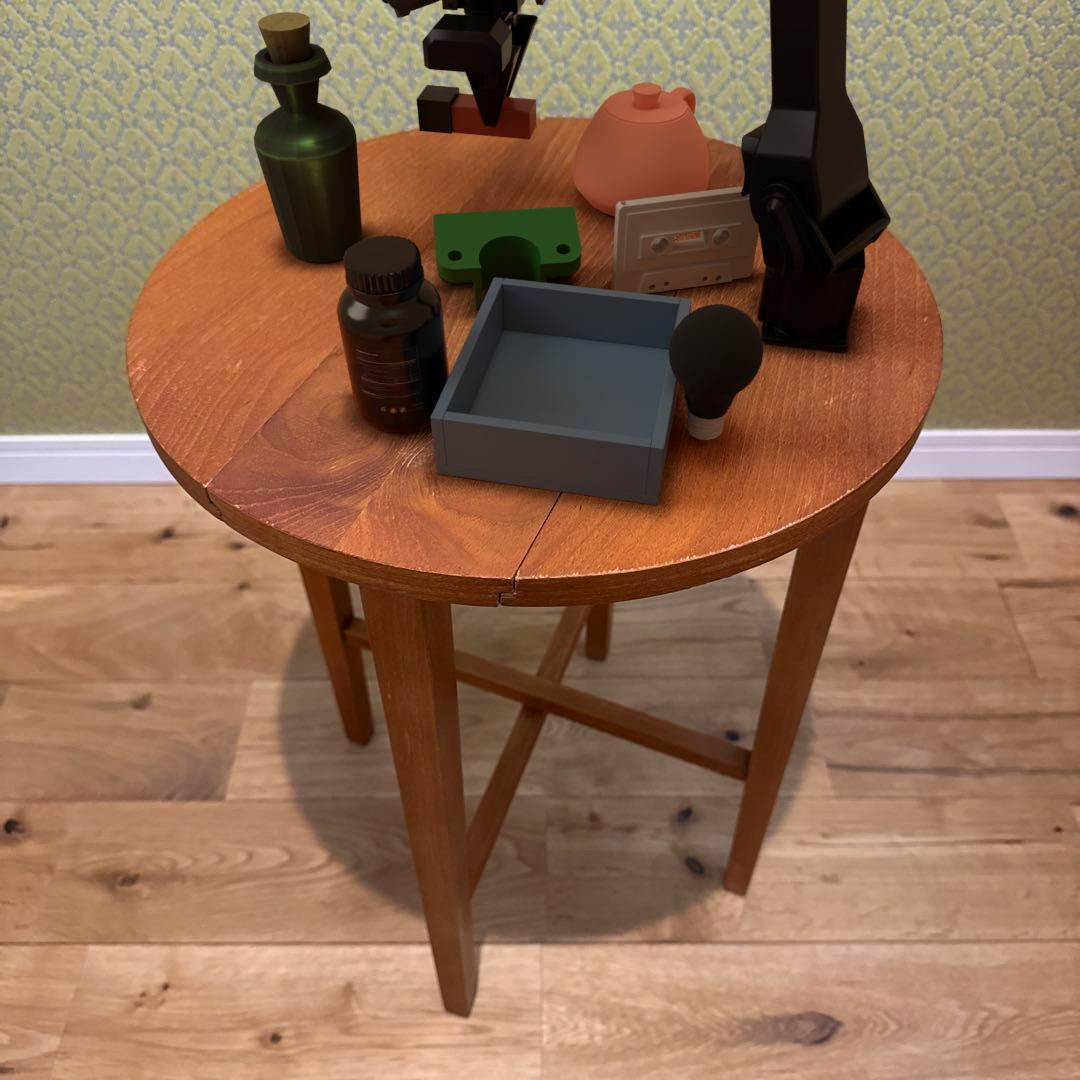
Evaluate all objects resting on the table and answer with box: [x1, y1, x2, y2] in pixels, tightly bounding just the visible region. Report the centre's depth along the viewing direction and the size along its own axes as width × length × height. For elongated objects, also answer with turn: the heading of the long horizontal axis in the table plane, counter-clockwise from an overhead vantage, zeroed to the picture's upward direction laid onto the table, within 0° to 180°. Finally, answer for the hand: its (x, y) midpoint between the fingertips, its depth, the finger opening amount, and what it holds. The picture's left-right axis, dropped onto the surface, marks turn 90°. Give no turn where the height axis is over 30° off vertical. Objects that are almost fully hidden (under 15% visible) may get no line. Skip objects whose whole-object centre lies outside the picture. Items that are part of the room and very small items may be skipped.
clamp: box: [432, 205, 583, 311], centre depth 77 cm, size 12×6×9 cm, turn 90°
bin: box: [430, 277, 693, 506], centre depth 67 cm, size 15×17×5 cm
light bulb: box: [669, 303, 764, 441], centre depth 63 cm, size 6×6×10 cm
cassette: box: [610, 185, 760, 294], centre depth 77 cm, size 12×2×8 cm, turn 104°
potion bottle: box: [253, 11, 363, 264], centre depth 77 cm, size 8×8×18 cm
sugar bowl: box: [572, 81, 711, 217], centre depth 86 cm, size 12×14×10 cm
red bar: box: [416, 84, 537, 140], centre depth 85 cm, size 10×3×3 cm, turn 78°
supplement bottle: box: [336, 234, 450, 434], centre depth 64 cm, size 7×7×12 cm
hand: (494, 117), depth 85 cm, fingers closed on red bar, 3 cm apart
